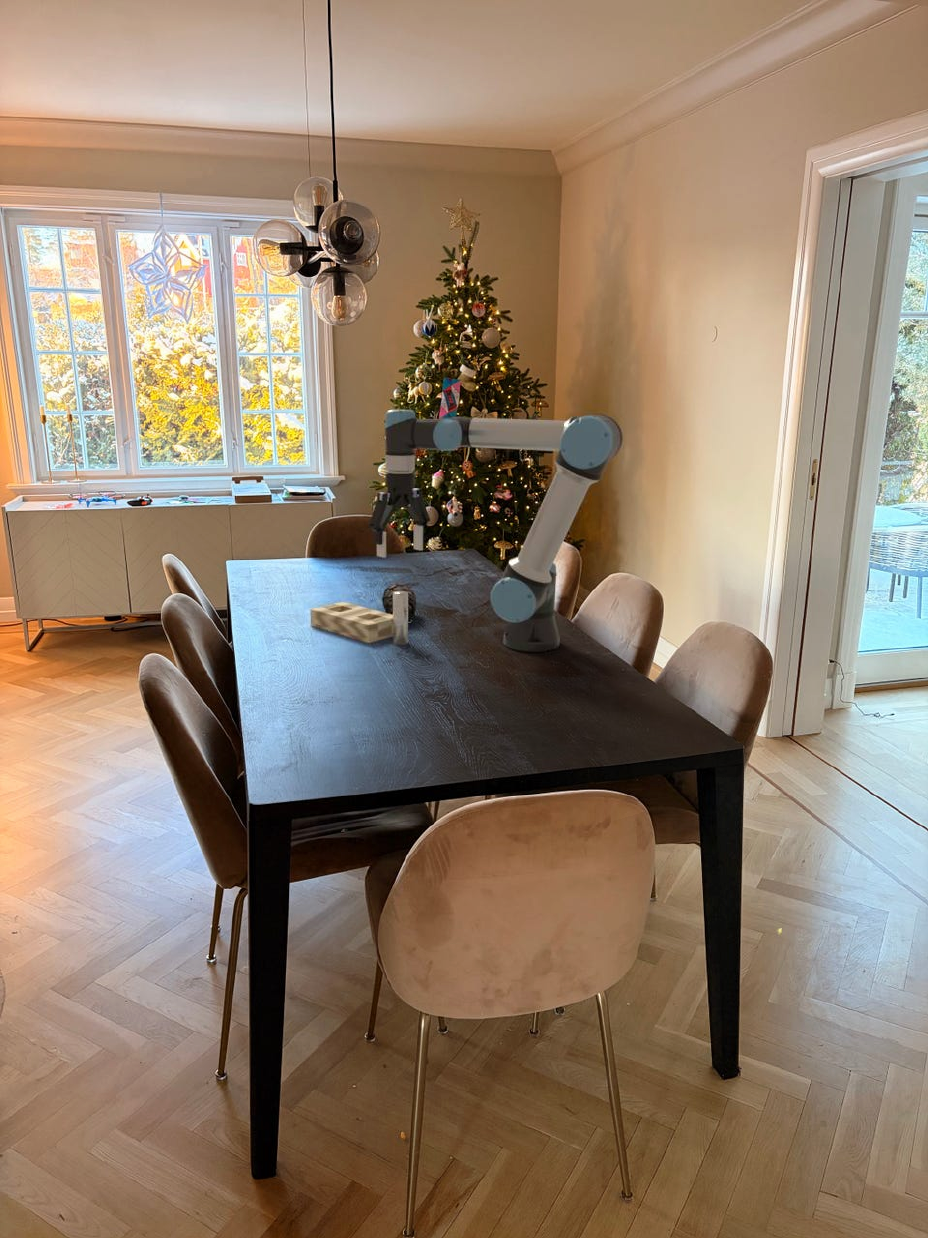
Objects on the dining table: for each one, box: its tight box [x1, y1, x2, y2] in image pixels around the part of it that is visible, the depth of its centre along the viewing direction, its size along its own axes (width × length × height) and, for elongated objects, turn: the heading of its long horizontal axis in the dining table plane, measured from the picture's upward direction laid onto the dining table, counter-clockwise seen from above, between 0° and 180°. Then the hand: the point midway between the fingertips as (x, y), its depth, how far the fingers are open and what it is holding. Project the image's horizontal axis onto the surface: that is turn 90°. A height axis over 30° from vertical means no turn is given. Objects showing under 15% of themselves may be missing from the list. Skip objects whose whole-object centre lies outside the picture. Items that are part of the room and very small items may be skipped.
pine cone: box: [381, 582, 418, 622], centre depth 263 cm, size 10×18×10 cm, turn 16°
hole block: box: [309, 601, 393, 644], centre depth 251 cm, size 24×12×5 cm, turn 49°
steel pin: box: [392, 591, 409, 646], centre depth 239 cm, size 4×4×14 cm
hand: (400, 553), depth 234 cm, fingers open, 13 cm apart
